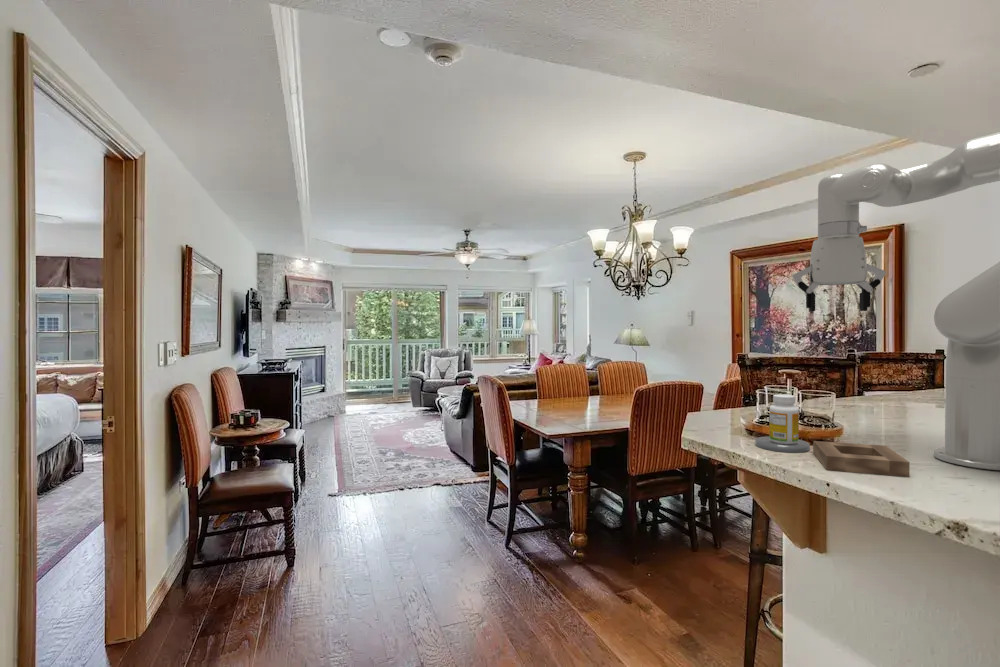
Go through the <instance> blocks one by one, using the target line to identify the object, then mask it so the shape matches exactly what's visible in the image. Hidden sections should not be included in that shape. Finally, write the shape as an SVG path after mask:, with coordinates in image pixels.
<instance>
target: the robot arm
mask: <svg viewBox="0 0 1000 667" xmlns="http://www.w3.org/2000/svg"><path fill="white" fill-rule="evenodd" d="M996 182H1000V131H998V132H993V133H990V134H986V135H982V136H978V137H974V138H971V139H969V140H966V141H964V142H963V143H961V144H960V145H958V146H957V147H956V148H955V149H954V150H952V151H951V152H950V153H949V154H947V155H946V156H944V157H941V158H940V159H936V160H933V161H932V162H928V163H925V164H921V165H917V166H916V165H915V166H912V167H908V168H904V169H900V170H899V169H898V168H895V167H893V166H891V165H889V164H887V163H873V164H869V165H867V166H864V167H860V168H858V169H855V170H852V171H850V172H844V173H842V172H841V173H835V174H830V175H827V176H824V177H823V178H822V179H820V181H819V183H818V187H817V239H815V240H813V242H812V246H811V251H810V252H811V253H810V260H809V266H807V267H806V268H804V269H802V270H799V271H797V272H795V273H794V274H792V276H791V278H792V279H793V281H794V282H795V283H796V286H797V287H798V288H799V289H800V290H801V291H802V292H803V293H804V294H805V300H806V301H805V308H806V309H808V312H811V313H813V312H816V293H814V292H815V290H816V289H817V288H818V287H819V286H842V285H846V286H847V285H848V286H849V285H856V286H857V287H858V289H860V290H861V292H860V293H859V308H858V309H859V311H861V312H867V311H868V308H871V292H873V290H874V289H875V288H877V287H878V286H879V285H880V284H881V282H882V281H883V279H884V277H886V275H887V271H885V270H884V269H881V268H879V267H876V266H874V265H871V264H869V263H867V255H866V248H865V244H864V239H863V237H862V236H860V235H861V233H866V232H868V225H862V224H861V222H860V203H869V204H873V205H876V206H877V207H885V208H891V207H893V208H894V207H898V206H904V205H909V204H915V203H919V202H923V201H929V200H933V199H937V198H940V197H945V196H947V195H950V194H955V193H958V192H961V191H965V190H967V189H970V188H972V187H973V188H974V187H977V186H981V185H985V184H991V183H996ZM868 273H870V274H873V275H874V278H873V280H871V281H870V282H869V283H868V282H867V281H866V280H867V278H868ZM808 274H809V277H808V278H809V283H810V284H807V283H805V282H804V281H803V279H802V277H803V276H806V275H808ZM933 321H934V325H935V328H936V329H937V330H938V332H939V333H940V334H941V335H942V336H943V337H944V338H947V339H948V340H947V347H946V348H947V349H946V359H945V401H944V402H945V403H944V406H945V410H944V412H945V413H944V414H945V415H944V418H945V419H944V447H937V448H935V449H934V450H933V456H934V457H935V458H936V459H938V460H941V461H944V462H946V463H949V464H950V463H951V464H955V465H959V466H962V467H963V466H964V467H969V468H975V469H980V470H981V469H983V470H989V471H1000V261H999V262H997V263H996V264H994V265H992V266H990V267H989V268H988V269H986V270H984V271H983V272H982V273H980V274H978V275H976V276H975V277H974V278H972V279H971V280H969V281H967V282H966V283H964V284H962V285H961V286H959V287H957V288H956V289H954V290H953V291H952V292H950V293H949V294H947V295H946V296H945V297H944V298H942V299H941V301H940V302H938V304H937V306H936V309H935V310H934V315H933Z"/></svg>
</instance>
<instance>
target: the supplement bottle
mask: <svg viewBox="0 0 1000 667" xmlns="http://www.w3.org/2000/svg"><path fill="white" fill-rule="evenodd" d="M772 397H773V398H772V401H773V403H774V404H771V405H770V407H769V412H768V413H769V414H768V416H769V420H768V421H769V424H768V425H769V427H768V428H769V429H768V431H769V439H770V441H771V442H774V443H778V444H786V445H791V444H797V443H798V441H799V440H800V439H799V438H800V437H799V436H800V435H799V434H800V433H799V432H800V429H799V428H800V427H799V425H800V420H799V419H800V417H799V416H800V415H799V414H800V412H799V411H800V410H799V408H798V407H797V406H795V404H796V396H795V395H792V394H773V396H772Z"/></svg>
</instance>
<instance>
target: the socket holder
mask: <svg viewBox="0 0 1000 667" xmlns="http://www.w3.org/2000/svg"><path fill="white" fill-rule="evenodd" d="M812 449H813V450H812V454H813V455H814V457H815V458H816V459H817V460H818V461H819V462H820V463H821V465H822V466H823V468H824V469H825V470H826V471H835V472H836V471H837V472H847V473H858V474H859V473H860V474H871V475H883V476H891V477H892V476H893V477H895V476H896V477H905V478H910V465H911V464H910V461H909V460H907V459H906V458H904V457H903V456H902V455H900V454H899V453H897V452H896V451H894V449H891V448H890V447H888V446H887V445H879V444H866V443H865V444H864V443H853V442H852V443H851V442H835V441H821V440H813V442H812Z"/></svg>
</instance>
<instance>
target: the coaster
mask: <svg viewBox="0 0 1000 667" xmlns="http://www.w3.org/2000/svg"><path fill="white" fill-rule="evenodd" d="M754 442H755V446H756V447H757V446H758V448H760V449H762V450H767V451H773V452H778V453H788V454H789V453H791V454H793V453H794V454H799V453H806V452H809V451H810V450H811V449H810V447H811V444H810V443H809V442H808V441H806V440H802V439H799V441H798V443H797V444H791V445H786V444H778V443H774V442H771V441H770V439H769V436H768V435H767V436H760V437H756V438H755V441H754Z"/></svg>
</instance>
